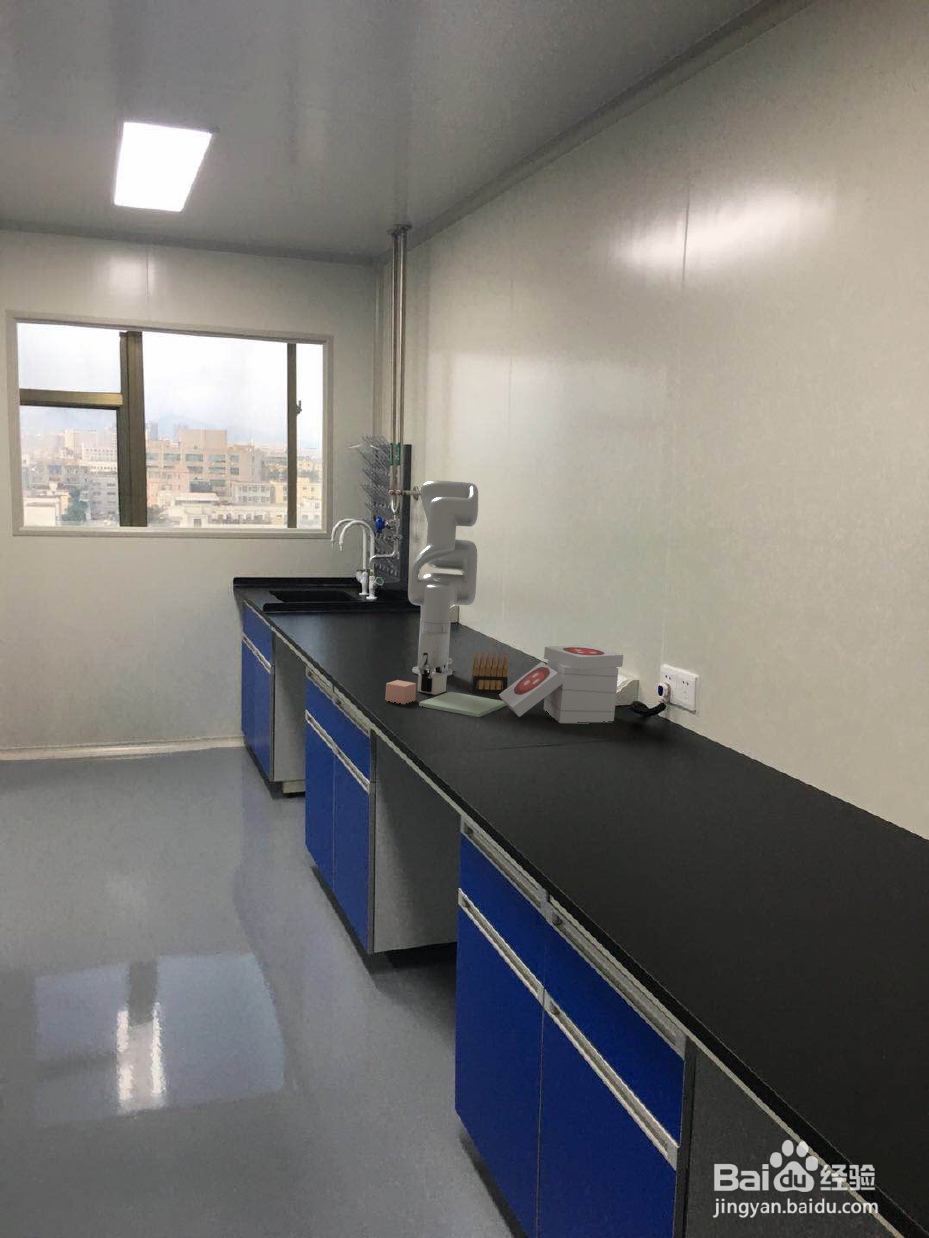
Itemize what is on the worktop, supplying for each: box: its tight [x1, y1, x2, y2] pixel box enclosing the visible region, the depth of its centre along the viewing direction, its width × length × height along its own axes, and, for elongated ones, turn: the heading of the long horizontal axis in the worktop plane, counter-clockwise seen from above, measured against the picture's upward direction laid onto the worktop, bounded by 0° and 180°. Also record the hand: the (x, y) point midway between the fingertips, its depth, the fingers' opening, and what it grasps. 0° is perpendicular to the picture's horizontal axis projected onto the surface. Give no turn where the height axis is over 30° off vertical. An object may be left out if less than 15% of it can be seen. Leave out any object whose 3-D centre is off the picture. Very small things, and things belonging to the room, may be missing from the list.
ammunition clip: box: [469, 651, 509, 694], centre depth 287 cm, size 11×2×12 cm, turn 101°
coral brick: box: [384, 679, 417, 705], centre depth 269 cm, size 6×6×5 cm
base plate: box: [418, 691, 508, 718], centre depth 269 cm, size 18×18×1 cm
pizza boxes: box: [498, 644, 624, 724], centre depth 263 cm, size 19×30×18 cm, turn 102°
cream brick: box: [416, 671, 448, 696], centre depth 283 cm, size 6×6×5 cm
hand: (431, 688), depth 283 cm, fingers closed on cream brick, 6 cm apart
